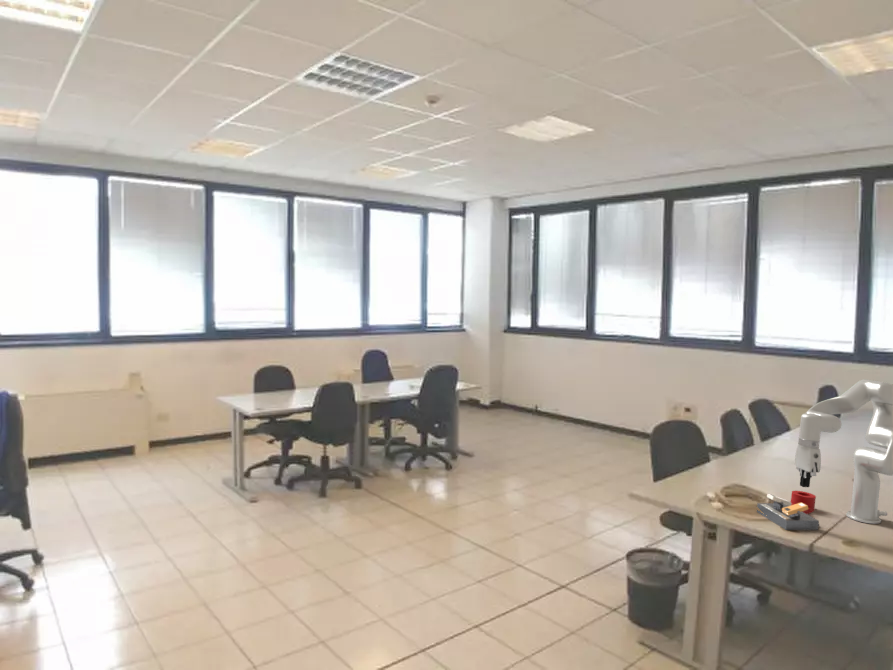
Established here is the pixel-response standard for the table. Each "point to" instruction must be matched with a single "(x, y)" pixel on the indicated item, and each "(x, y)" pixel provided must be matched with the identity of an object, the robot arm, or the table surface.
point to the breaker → (779, 499)
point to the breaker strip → (787, 517)
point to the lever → (804, 500)
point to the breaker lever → (795, 508)
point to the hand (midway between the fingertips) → (804, 486)
